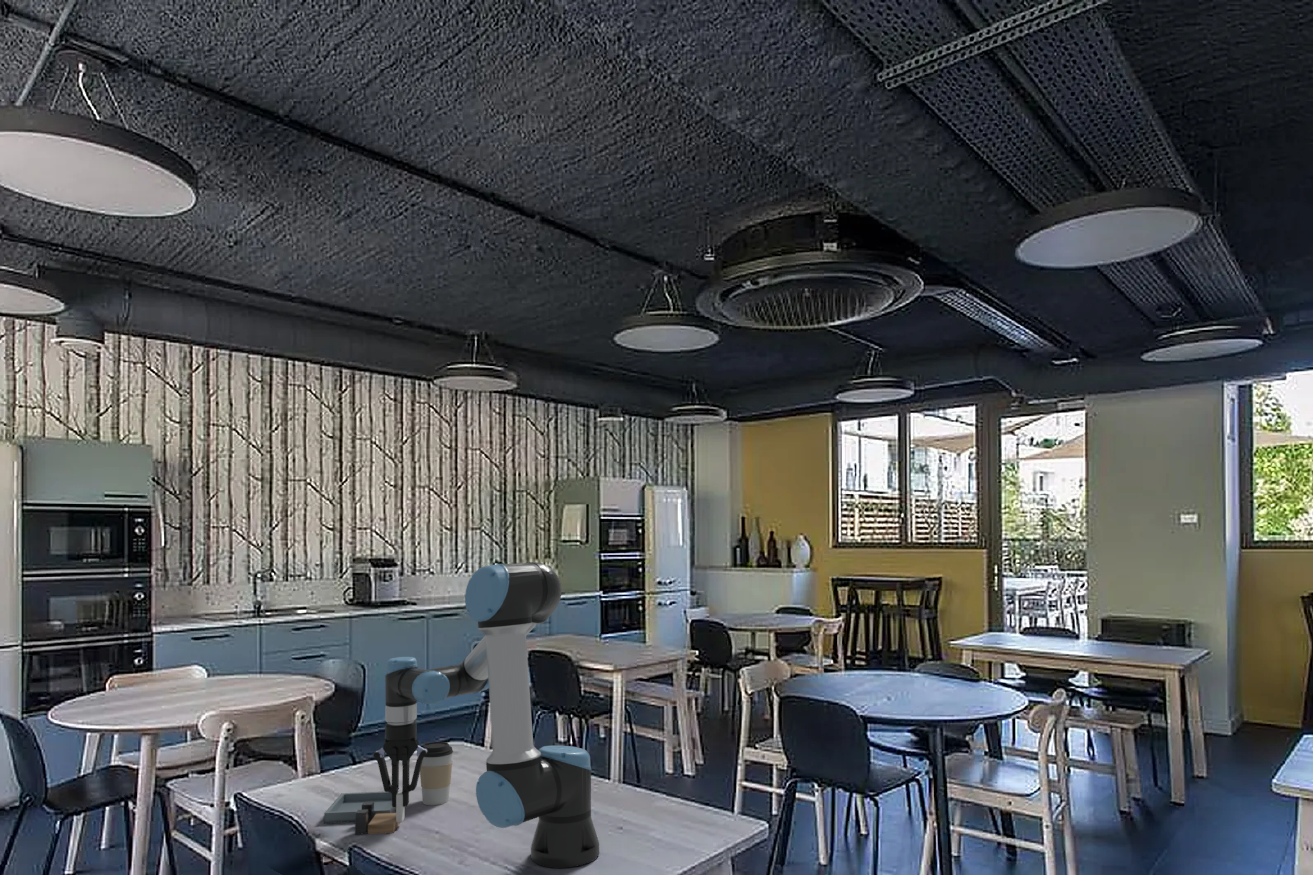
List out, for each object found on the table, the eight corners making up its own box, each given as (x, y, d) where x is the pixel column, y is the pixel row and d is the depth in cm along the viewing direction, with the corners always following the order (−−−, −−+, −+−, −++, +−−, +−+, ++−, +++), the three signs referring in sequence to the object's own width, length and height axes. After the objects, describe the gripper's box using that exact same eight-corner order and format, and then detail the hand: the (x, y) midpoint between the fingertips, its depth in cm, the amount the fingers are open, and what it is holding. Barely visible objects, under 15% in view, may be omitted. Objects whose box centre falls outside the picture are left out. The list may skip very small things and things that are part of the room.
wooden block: (393, 834, 211) (393, 823, 211) (368, 835, 210) (368, 825, 211) (400, 823, 219) (400, 812, 219) (375, 824, 218) (375, 813, 218)
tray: (390, 820, 220) (390, 810, 220) (324, 823, 218) (324, 813, 218) (402, 800, 235) (402, 790, 236) (341, 803, 234) (341, 793, 234)
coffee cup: (457, 795, 238) (457, 739, 240) (446, 806, 229) (446, 747, 231) (425, 795, 239) (425, 738, 240) (412, 806, 230) (413, 747, 232)
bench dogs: (365, 834, 210) (365, 812, 210) (355, 834, 210) (355, 813, 210) (373, 822, 218) (373, 801, 219) (363, 822, 218) (364, 802, 219)
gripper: (430, 717, 222) (429, 813, 219) (377, 719, 220) (376, 816, 218) (425, 724, 214) (424, 824, 212) (370, 726, 213) (369, 826, 211)
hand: (400, 820), depth 215 cm, fingers closed
